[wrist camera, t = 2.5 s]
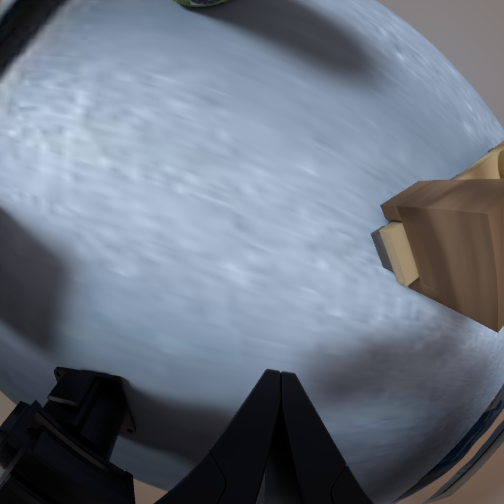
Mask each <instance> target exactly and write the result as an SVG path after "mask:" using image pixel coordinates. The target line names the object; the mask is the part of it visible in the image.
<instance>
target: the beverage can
mask: <svg viewBox="0 0 504 504" xmlns="http://www.w3.org/2000/svg"><path fill="white" fill-rule="evenodd" d="M173 1H175V2H177V3H179V4H182V5H185V6H192V7H205V6H212V5H216V4H219V3H222V2H225V1H227V0H173Z"/></svg>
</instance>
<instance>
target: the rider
mask: <svg viewBox="0 0 504 504" xmlns="http://www.w3.org/2000/svg"><path fill="white" fill-rule="evenodd" d="M380 206H381V208H382V211H383V213H384V216H385V218H386V219H390V220H397V221H402V224H403V226H404V229H405V232H406V235H407V238H408V241H409V244H410V247H411V251H412V254H413V257H414V260H415V264H416V267H417V271H418V275H419V277H418V278H417V279H416V280H414V281H413V282H412V283H410V284H409V285H408V286H409V288H411V289H413V290H415V291H417V292H419V293H421V294H423V295H425V296H427V297H429V298H431V299H433V300H435V301H437V302H439V303H441V304H443V305H445V306H447V307H449V308H451V309H453V310H455V311H457V312H459V313H461V314H463V315H465V316H467V317H469V318H471V319H473V320H475V321H477V322H479V323H480V324H482V325H484V326H486V327H488V328H490V329H492V330H494V331H496V332H497V333H498V332H499V331H500V329H501V328H502V327H503V326H504V179H460V180H434V181H418V182H417V183H415V184H413V185H412V186H410V187H409V188H407V189H406V190H404V191H402V192H401V193H399V194H398V195H396V196H394V197H393V198H391V199H390V200H388V201H386V202H385V203H383V204H382V205H380Z"/></svg>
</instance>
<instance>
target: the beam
mask: <svg viewBox="0 0 504 504" xmlns="http://www.w3.org/2000/svg"><path fill="white" fill-rule="evenodd" d="M460 179H504V141H502V142H501V143H500V144H499V145H497V146H496V147H495V148H492V149H491V150H489V151H488V153H487V154H486V155H485V156H483V157H482V158H481V159H479V160H478V161H477V162H476V163H474V164H473V165H472V166H470V167H469V168H468V169H466V170H465V171H464V172H462V173H461V174H457V175H456V176H455V177H453V178H452V179H451V180H460ZM371 236H372V239H373V241H374V244H375V247H376V249H377V252H378V254H379V257H380V260H381V262H382V265H383V267H384V268H386V269H389V270H391V271H393V272H394V274H395V277H396V280H397V282H399V283H401V284H403V285H405V286H408V285H409V284H410V283H412V282H413V281H414V280H416V279H417V278H418V277H419V275H418V271H417V267H416V264H415V260H414V257H413V254H412V251H411V247H410V244H409V241H408V238H407V235H406V232H405V229H404V226H403V224H402V221H397V220H394V221H393V222H391V223H390V224H388V225H387V226H382V227H381V228H379V229H378V230H376V231H375V232H373V233H371Z"/></svg>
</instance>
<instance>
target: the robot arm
mask: <svg viewBox="0 0 504 504" xmlns="http://www.w3.org/2000/svg"><path fill="white" fill-rule="evenodd" d="M54 375H55V377H56V380H57V384H56V386H55V387H54V388H53V390H52V391H51V392H50V394H49V395H48V397H47V398H48V401H47V403H46V404H45V406H44V407H43V408H42V407H41V404H40V403H39V402H38V401H37V400H35V401H34V402H33V403H32V404H31V405H29V404H27V403H24V402H22V401H20V402H19V404H18V405H17V406H16V407H15V409H14V410H13V411H12V412H11V414H10V415H9V416H8V417H7V419H6V420H5V421H4V422H3V424H2V425H1V426H0V504H135V495H134V485H133V484H134V483H133V475H132V474H130V473H129V472H127V471H124V470H122V469H120V468H119V467H117V466H116V465H114V464H113V463H111V462H109V460H110V457H111V454H112V451H113V448H114V445H115V442H116V439H117V437H118V434H119V433H126V434H135V432H136V427H135V424H134V421H133V418H132V415H131V412H130V409H129V406H128V402H127V399H126V395H125V392H124V388H123V385H122V381H121V379H120V378H118V377H117V376H111V375H104V374H97V373H92V372H85V371H79V370H74V369H67V368H62V367H56V368H55V370H54ZM114 381H115V382H116V383H115V382H114ZM265 468H266V472H265V502H264V504H374V503H373V502H372V501H371V500H370V498H369V497H368V496H367V494H366V493H365V492H364V490H363V489H362V487H361V486H360V484H359V483H358V481H357V480H356V478H355V477H354V475H353V473H352V472H351V470H350V468H349V466H346V462H345V460H344V458H343V456H342V455H341V453H340V451H339V450H338V448H337V446H336V444H335V443H334V441H333V439H332V438H331V436H330V434H329V432H328V431H327V429H326V427H325V425H324V424H323V422H322V420H321V418H320V417H319V415H318V413H317V411H316V410H315V408H314V406H313V404H312V402H311V401H310V399H309V397H308V395H307V394H306V392H305V390H304V388H303V386H302V385H301V383H300V381H299V379H298V377H297V376H296V374H295V373H291V372H284V371H282V372H281V373H280V371H278V370H272V369H266V370H265V372H264V373H263V375H262V376H261V378H260V379H259V381H258V382H257V384H256V385H255V387H254V388H253V389H252V391H251V392H250V394H249V395H248V397H247V398H246V400H245V401H244V403H243V404H242V405H241V407H240V408H239V410H238V411H237V412H236V414H235V415H234V417H233V418H232V419H231V421H230V422H229V423H228V425H227V426H226V428H225V429H224V430H223V432H222V433H221V434H220V436H219V437H218V438H217V440H216V441H215V442H214V443H213V445H212V446H211V447H210V449H209V451H208V452H206V453H205V455H204V456H203V457H202V459H201V460H200V461H199V462H198V463H197V464H196V466H195V467H194V468H193V469H192V470H191V471H190V472H189V473H188V475H187V476H185V477H184V478H183V479H182V480H181V481H180V482H179V483H178V484H177V485H176V486H175V487H174V488H172V489H171V490H170V491H169V492H168V493H166V494H165V495H164V496H163V497H162V498H160V499H159V500H158V501H156V502H155V503H154V504H255V503H256V500H257V496H258V493H259V490H260V486H261V482H262V479H263V475H264V471H265Z"/></svg>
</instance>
